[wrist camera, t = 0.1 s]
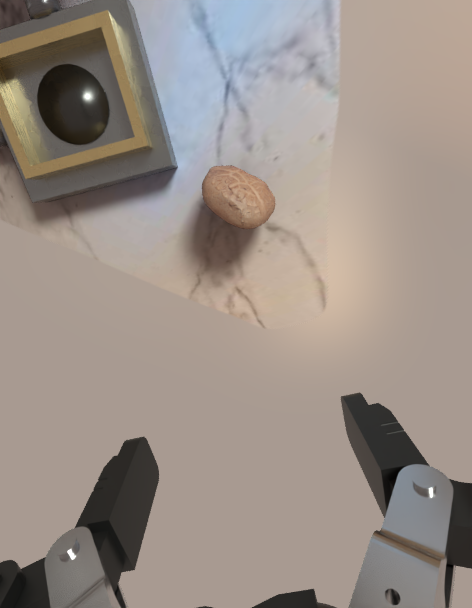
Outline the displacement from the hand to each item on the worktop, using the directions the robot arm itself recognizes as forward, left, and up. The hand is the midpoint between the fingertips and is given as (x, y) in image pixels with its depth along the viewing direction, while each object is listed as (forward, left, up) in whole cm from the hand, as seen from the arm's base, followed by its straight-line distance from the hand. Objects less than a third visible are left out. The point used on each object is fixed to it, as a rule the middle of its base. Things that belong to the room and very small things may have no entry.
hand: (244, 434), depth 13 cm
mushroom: (-9, +2, -29) cm, 31 cm away
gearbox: (-22, -14, -29) cm, 39 cm away
